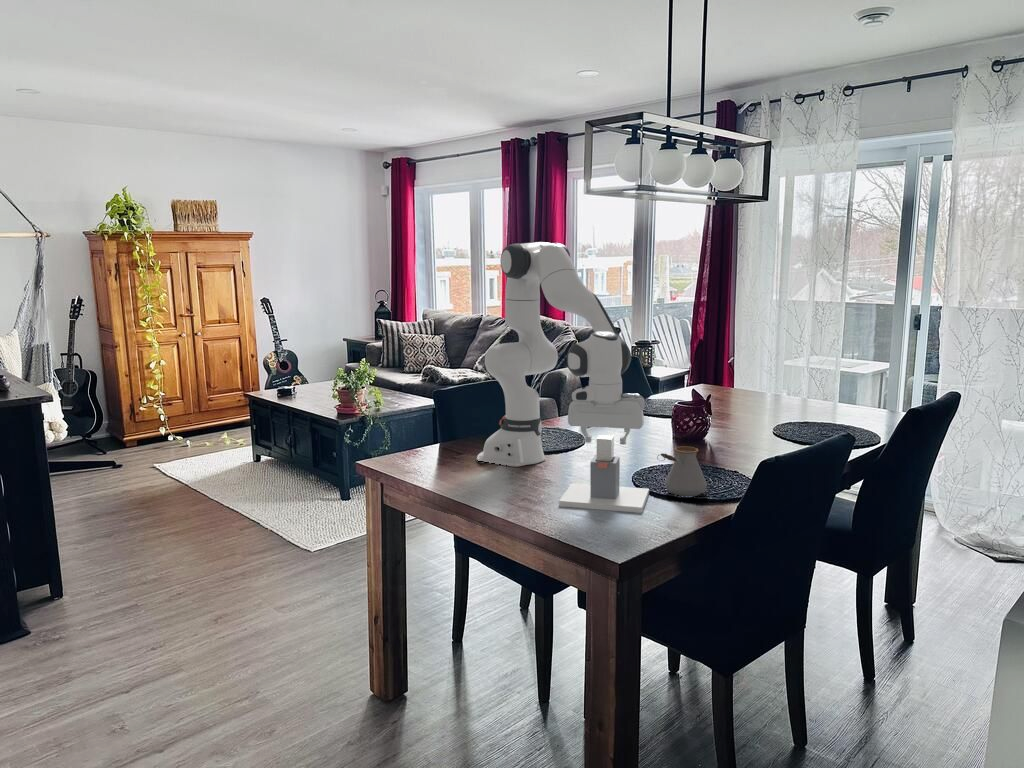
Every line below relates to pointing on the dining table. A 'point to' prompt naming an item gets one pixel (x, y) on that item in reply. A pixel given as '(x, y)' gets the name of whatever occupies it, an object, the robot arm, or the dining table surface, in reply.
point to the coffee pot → (685, 473)
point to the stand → (605, 490)
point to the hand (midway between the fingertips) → (605, 443)
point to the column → (605, 448)
